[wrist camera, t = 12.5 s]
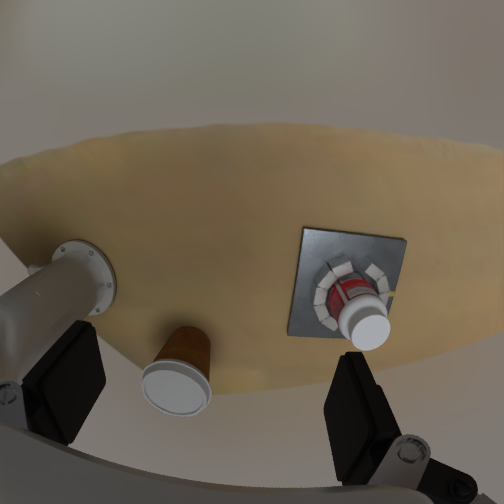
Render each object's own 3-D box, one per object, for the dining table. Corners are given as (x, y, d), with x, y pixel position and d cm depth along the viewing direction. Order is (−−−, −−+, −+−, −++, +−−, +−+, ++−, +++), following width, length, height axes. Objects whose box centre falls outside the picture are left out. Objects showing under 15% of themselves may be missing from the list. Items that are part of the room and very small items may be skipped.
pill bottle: (343, 317, 42) (364, 364, 32) (316, 291, 41) (333, 336, 31) (375, 289, 41) (405, 330, 30) (350, 261, 40) (378, 297, 29)
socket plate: (286, 331, 44) (288, 345, 41) (303, 226, 40) (307, 234, 36) (377, 335, 45) (385, 348, 41) (403, 238, 40) (415, 246, 36)
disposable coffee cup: (225, 325, 44) (215, 378, 33) (215, 371, 47) (205, 425, 36) (164, 310, 44) (137, 358, 33) (160, 358, 47) (138, 407, 36)
